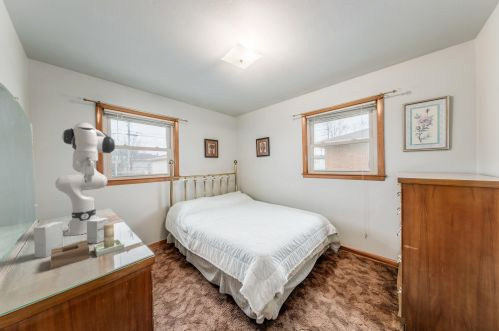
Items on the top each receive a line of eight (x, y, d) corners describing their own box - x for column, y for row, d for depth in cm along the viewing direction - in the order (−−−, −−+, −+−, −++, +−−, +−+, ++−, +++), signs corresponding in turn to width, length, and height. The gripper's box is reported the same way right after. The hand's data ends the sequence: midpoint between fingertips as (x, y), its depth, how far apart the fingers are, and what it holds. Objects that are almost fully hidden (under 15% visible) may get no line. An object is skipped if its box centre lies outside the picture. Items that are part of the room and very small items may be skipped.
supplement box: (96, 243, 99) (96, 221, 99) (86, 243, 101) (85, 220, 101) (109, 238, 107) (109, 217, 107) (99, 237, 108) (99, 217, 108)
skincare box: (53, 249, 93) (52, 221, 93) (64, 249, 93) (63, 221, 93) (33, 258, 85) (32, 227, 85) (45, 257, 85) (45, 226, 85)
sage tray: (94, 250, 91) (93, 245, 91) (119, 243, 99) (119, 238, 99) (97, 257, 84) (96, 251, 84) (124, 248, 92) (124, 244, 92)
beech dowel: (103, 248, 92) (103, 225, 91) (113, 245, 94) (112, 223, 94) (104, 250, 89) (104, 226, 89) (114, 247, 92) (114, 224, 92)
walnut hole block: (51, 260, 82) (51, 249, 82) (86, 250, 91) (86, 240, 91) (51, 269, 74) (50, 257, 74) (89, 258, 83) (89, 247, 83)
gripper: (97, 157, 89) (98, 184, 90) (92, 158, 103) (93, 181, 104) (80, 157, 85) (81, 185, 85) (77, 158, 99) (78, 182, 99)
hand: (87, 183), depth 94 cm, fingers open, 8 cm apart
